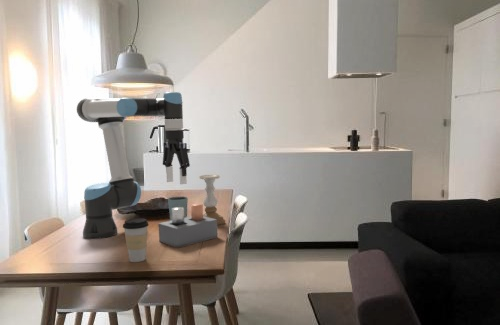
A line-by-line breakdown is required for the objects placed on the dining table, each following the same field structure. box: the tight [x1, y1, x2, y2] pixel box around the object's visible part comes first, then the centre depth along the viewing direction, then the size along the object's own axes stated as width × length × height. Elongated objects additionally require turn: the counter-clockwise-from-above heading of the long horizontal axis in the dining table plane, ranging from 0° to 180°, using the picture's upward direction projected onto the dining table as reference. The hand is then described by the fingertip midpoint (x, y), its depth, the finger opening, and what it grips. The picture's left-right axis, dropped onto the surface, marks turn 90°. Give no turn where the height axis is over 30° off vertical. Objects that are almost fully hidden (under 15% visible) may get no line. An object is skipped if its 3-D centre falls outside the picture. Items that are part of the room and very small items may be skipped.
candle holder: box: [198, 174, 226, 226], centre depth 214 cm, size 11×11×24 cm
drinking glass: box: [167, 196, 189, 221], centre depth 221 cm, size 10×10×12 cm
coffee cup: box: [122, 217, 149, 263], centre depth 160 cm, size 9×9×15 cm
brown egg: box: [190, 203, 204, 222], centre depth 189 cm, size 5×5×7 cm
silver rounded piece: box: [172, 207, 185, 226], centre depth 182 cm, size 5×5×7 cm
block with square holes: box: [158, 216, 219, 249], centre depth 186 cm, size 21×14×8 cm, turn 133°
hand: (176, 182), depth 180 cm, fingers open, 9 cm apart
